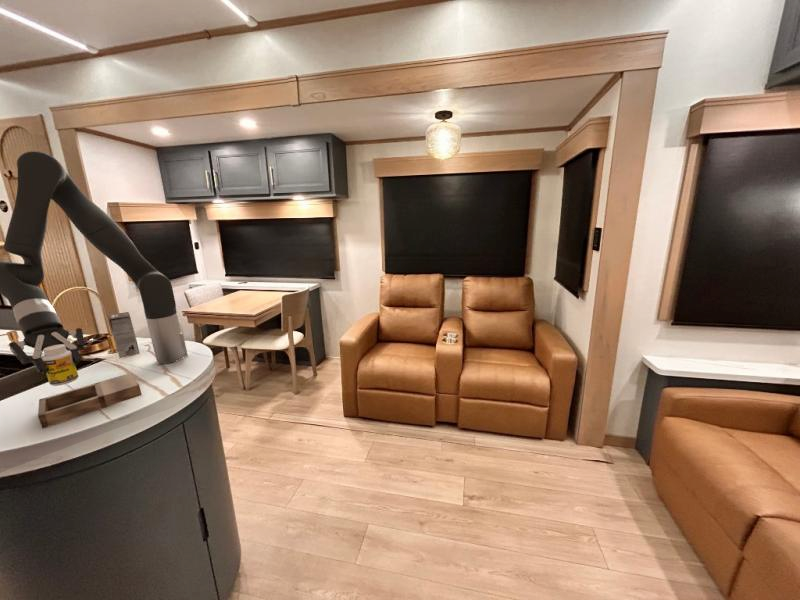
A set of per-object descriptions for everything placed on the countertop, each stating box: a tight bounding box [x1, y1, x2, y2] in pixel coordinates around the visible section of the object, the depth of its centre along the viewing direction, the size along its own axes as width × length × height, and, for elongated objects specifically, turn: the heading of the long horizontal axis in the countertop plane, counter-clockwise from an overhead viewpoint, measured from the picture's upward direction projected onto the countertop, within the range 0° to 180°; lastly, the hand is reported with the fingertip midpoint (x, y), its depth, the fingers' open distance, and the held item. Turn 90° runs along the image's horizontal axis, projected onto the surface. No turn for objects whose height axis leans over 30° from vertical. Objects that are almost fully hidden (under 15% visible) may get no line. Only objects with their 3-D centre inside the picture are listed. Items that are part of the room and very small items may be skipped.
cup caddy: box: [37, 372, 143, 429], centre depth 91 cm, size 20×12×4 cm, turn 137°
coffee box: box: [107, 311, 140, 359], centre depth 126 cm, size 9×6×16 cm
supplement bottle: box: [41, 344, 79, 387], centre depth 85 cm, size 6×6×10 cm
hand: (62, 367), depth 84 cm, fingers closed on supplement bottle, 5 cm apart
